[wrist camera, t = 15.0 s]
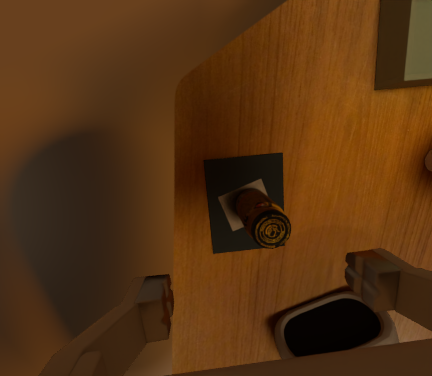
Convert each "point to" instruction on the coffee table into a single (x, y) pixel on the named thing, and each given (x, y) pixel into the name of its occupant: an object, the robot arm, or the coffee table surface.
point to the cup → (429, 160)
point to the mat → (233, 179)
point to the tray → (404, 44)
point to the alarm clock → (333, 327)
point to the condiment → (256, 215)
